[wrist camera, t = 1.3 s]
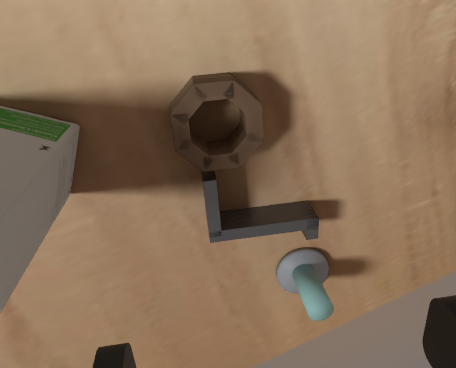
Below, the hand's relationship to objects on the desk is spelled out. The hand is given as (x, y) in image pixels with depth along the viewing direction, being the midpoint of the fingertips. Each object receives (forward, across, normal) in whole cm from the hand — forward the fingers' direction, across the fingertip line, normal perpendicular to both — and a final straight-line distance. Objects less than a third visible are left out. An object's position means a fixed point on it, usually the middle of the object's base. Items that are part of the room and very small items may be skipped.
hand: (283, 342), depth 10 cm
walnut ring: (+22, 0, 0) cm, 22 cm away
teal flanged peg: (+22, -7, +16) cm, 28 cm away
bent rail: (+22, -3, +7) cm, 23 cm away
